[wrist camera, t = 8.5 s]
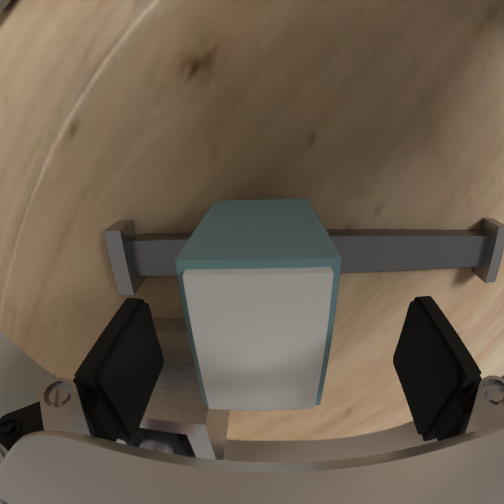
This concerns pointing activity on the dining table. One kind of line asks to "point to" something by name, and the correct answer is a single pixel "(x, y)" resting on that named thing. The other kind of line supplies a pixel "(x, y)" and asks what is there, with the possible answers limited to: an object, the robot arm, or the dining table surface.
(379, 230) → the rail
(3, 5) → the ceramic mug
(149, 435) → the plunger
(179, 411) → the grey button box
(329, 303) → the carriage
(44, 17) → the dining table surface
